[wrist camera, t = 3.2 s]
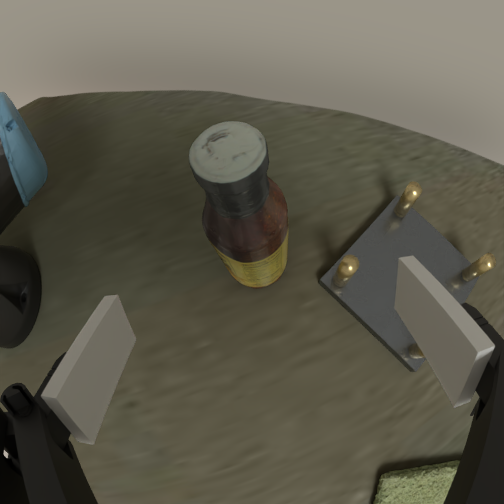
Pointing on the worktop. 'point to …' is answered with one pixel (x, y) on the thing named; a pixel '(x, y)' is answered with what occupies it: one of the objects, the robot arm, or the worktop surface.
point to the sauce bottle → (241, 202)
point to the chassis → (386, 269)
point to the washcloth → (417, 484)
